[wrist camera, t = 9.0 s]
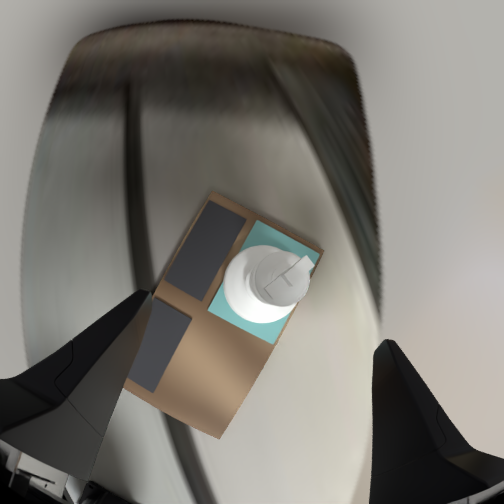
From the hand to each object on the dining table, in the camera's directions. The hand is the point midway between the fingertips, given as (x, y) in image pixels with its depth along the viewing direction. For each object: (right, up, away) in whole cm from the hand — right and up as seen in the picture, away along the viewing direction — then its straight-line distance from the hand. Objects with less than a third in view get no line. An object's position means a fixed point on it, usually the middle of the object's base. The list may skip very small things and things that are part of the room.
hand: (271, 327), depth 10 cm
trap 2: (-7, -4, +7) cm, 11 cm away
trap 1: (-4, +3, +8) cm, 10 cm away
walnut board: (-3, -2, +8) cm, 9 cm away
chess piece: (0, +1, +8) cm, 8 cm away
